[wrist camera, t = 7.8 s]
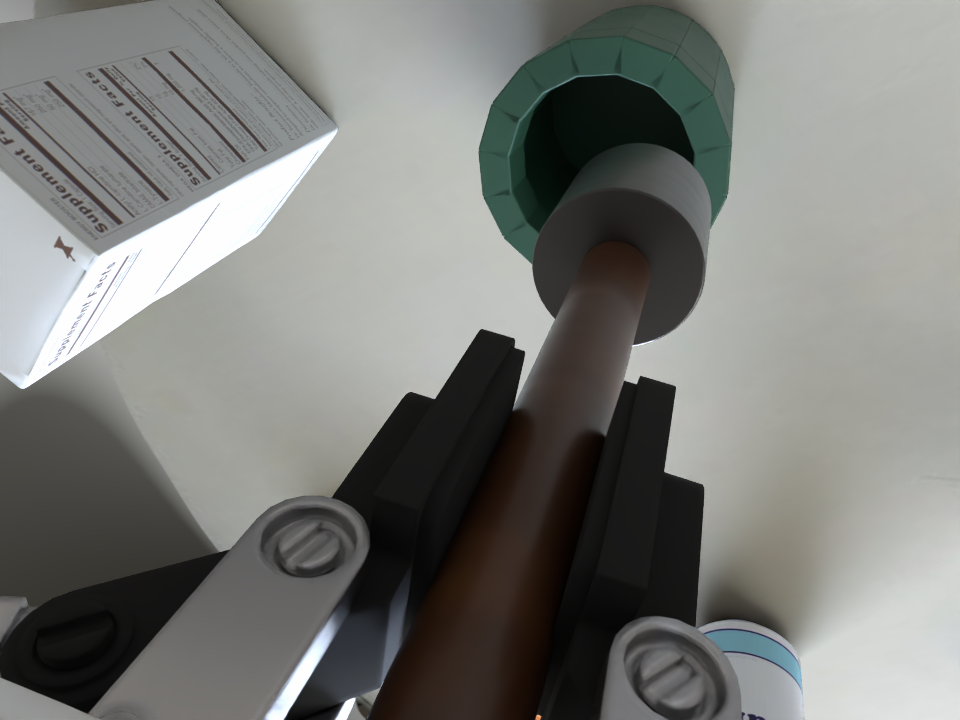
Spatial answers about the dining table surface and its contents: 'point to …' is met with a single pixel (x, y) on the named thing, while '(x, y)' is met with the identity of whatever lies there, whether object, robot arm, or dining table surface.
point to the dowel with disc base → (553, 437)
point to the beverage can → (761, 669)
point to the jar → (605, 113)
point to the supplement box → (133, 165)
